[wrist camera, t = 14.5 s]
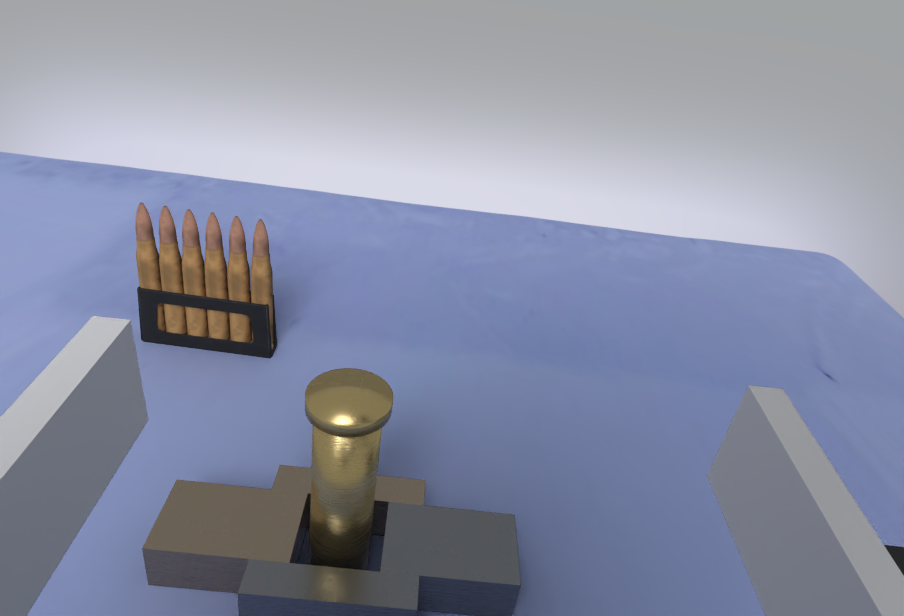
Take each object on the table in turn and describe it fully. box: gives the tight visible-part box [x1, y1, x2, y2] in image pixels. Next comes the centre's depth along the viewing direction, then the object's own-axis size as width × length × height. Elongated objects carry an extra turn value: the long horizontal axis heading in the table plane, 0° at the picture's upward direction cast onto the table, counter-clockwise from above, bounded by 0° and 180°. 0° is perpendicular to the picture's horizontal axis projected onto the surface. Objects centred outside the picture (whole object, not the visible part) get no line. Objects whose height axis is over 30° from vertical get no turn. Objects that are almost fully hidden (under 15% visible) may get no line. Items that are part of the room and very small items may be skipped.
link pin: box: [305, 368, 393, 570], centre depth 35 cm, size 4×4×13 cm
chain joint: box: [142, 465, 521, 616], centre depth 37 cm, size 20×9×3 cm, turn 88°
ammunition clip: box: [136, 203, 277, 358], centre depth 51 cm, size 11×2×12 cm, turn 87°
